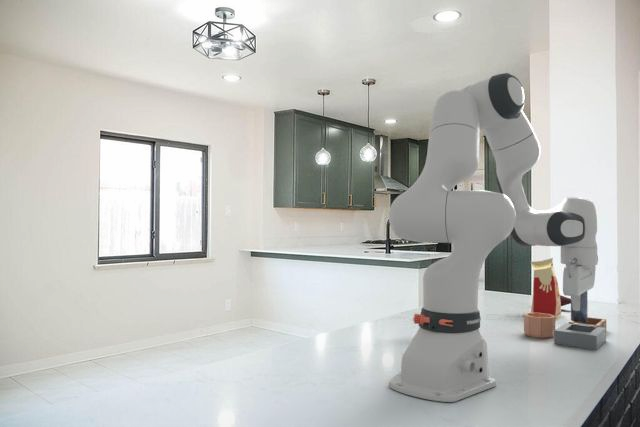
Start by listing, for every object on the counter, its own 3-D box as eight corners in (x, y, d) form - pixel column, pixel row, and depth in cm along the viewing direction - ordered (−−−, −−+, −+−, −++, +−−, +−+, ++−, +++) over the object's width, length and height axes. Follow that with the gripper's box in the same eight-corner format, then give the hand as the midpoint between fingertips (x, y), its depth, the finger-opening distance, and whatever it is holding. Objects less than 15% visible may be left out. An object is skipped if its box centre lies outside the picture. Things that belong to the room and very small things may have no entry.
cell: (585, 322, 130) (585, 290, 130) (569, 320, 132) (569, 288, 132) (589, 320, 133) (588, 288, 133) (572, 318, 135) (572, 287, 135)
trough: (598, 338, 136) (597, 326, 137) (568, 334, 141) (568, 322, 141) (606, 330, 146) (606, 319, 146) (578, 327, 151) (578, 316, 151)
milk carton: (561, 314, 170) (560, 257, 171) (557, 319, 163) (557, 259, 163) (532, 312, 175) (532, 256, 176) (528, 316, 168) (527, 258, 168)
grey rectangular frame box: (596, 349, 124) (596, 334, 124) (554, 343, 131) (554, 328, 131) (605, 340, 134) (605, 326, 134) (565, 335, 140) (565, 321, 140)
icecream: (579, 292, 179) (538, 292, 190) (571, 289, 175) (529, 289, 186) (579, 312, 177) (538, 310, 189) (571, 309, 173) (529, 307, 184)
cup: (550, 339, 135) (550, 319, 135) (521, 335, 140) (520, 315, 140) (557, 334, 141) (557, 314, 141) (529, 330, 146) (529, 311, 146)
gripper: (583, 261, 123) (583, 316, 123) (599, 255, 138) (599, 304, 138) (555, 259, 127) (556, 313, 127) (574, 254, 142) (575, 302, 142)
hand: (579, 308), depth 133 cm, fingers closed on cell, 4 cm apart
